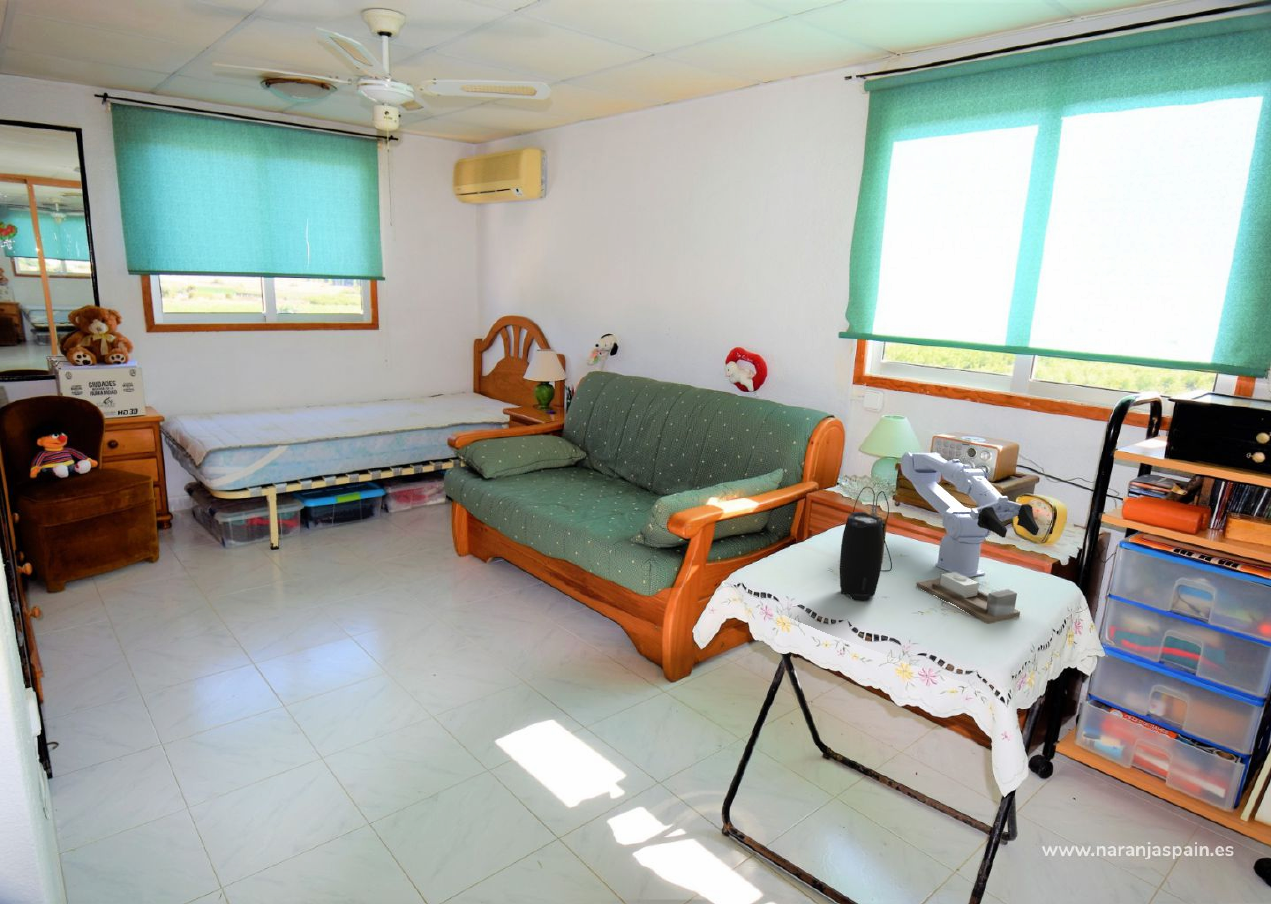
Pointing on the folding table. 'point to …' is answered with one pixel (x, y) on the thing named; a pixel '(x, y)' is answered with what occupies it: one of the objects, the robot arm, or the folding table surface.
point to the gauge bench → (977, 602)
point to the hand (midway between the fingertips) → (1020, 532)
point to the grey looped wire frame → (882, 521)
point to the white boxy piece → (959, 584)
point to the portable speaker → (861, 555)
